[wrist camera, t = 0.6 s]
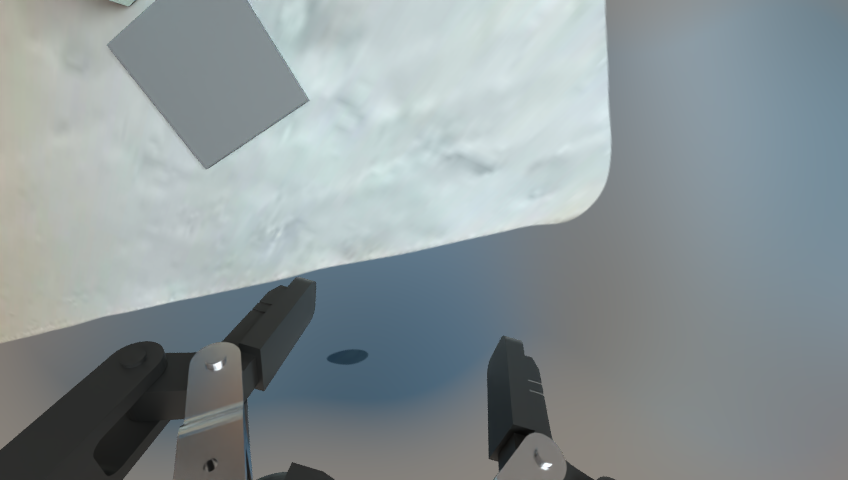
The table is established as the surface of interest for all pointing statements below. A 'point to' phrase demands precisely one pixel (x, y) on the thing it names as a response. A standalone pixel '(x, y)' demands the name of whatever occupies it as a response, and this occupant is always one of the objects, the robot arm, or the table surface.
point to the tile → (124, 2)
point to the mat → (209, 72)
